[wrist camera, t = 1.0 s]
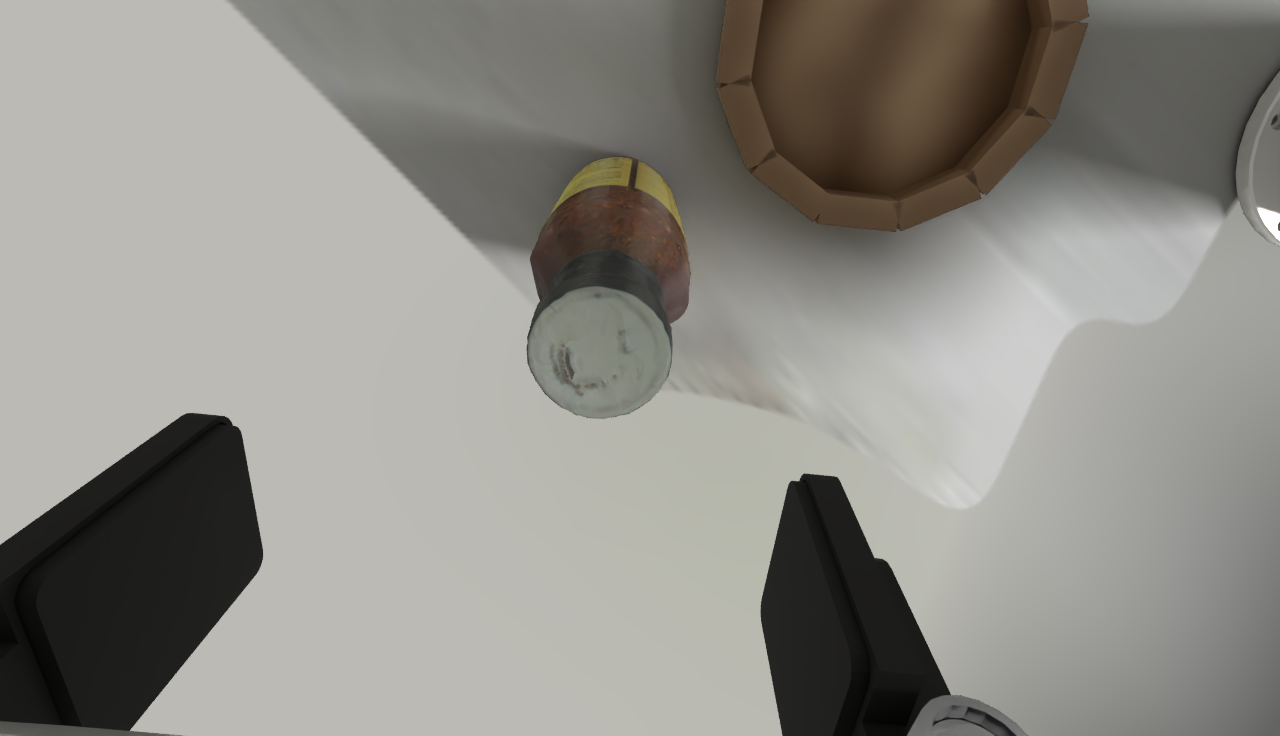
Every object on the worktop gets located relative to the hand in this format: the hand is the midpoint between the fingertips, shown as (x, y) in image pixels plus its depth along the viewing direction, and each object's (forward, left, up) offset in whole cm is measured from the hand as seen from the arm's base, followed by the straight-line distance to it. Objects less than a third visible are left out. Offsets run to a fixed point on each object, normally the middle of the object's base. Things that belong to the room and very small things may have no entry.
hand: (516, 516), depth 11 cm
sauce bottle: (0, 0, -27) cm, 27 cm away
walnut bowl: (-12, -9, -27) cm, 31 cm away
